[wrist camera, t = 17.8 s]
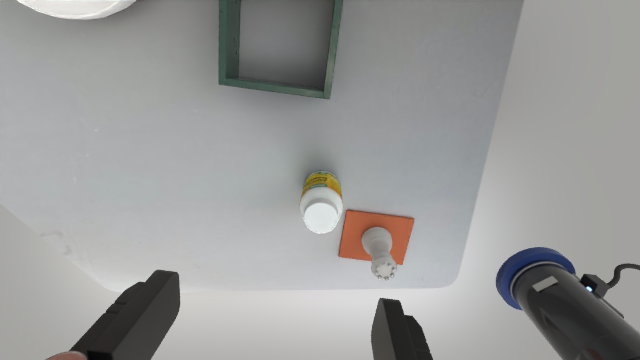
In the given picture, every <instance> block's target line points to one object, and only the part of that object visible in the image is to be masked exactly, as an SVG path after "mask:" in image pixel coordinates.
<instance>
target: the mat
mask: <svg viewBox="0 0 640 360" xmlns="http://www.w3.org/2000/svg"><path fill="white" fill-rule="evenodd" d="M413 223H414V218H407V217H399V216H391V215H384V214H376V213H368V212H360V211H353V210H347V211H346V217H345V222H344V228H343V234H342V239H341V245H340V251H339V257H344V258H352V259H360V260H368V261H372V257H371V255H369V254H368V253H367V252H366V251H365V250H364V248H363V245H362V236H363V234H364V233H365V232H366V231H367V230H369V229H370V228H374V227H381V228H384V229H386V230H387V231H388V232H389V233H390V234H391V238H392V247H391V250H390V255H391V256H392V258H393V260H394V261H395V262H396V264H399V265H402V264H403V260H404V257H405V253H406V249H407V245H408V242H409V238H410V234H411V231H412V227H413Z"/></svg>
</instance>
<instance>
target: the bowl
mask: <svg viewBox="0 0 640 360" xmlns="http://www.w3.org/2000/svg"><path fill="white" fill-rule="evenodd" d="M17 1H18V2H20V3H22V4H24V5H26V6H28V7H30V8H32V9H34V10H36V11H38V12H40V13H43V14H47V15H50V16H54V17H57V18H67V19H82V20H90V19H97V18H103V17H107V16H109V15H111V14H114V13H116V12H119V11H121V10H123V9H126V8H127V7H128V6H130V5H131V4H132V3H134V2H135V1H136V0H17Z"/></svg>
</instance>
